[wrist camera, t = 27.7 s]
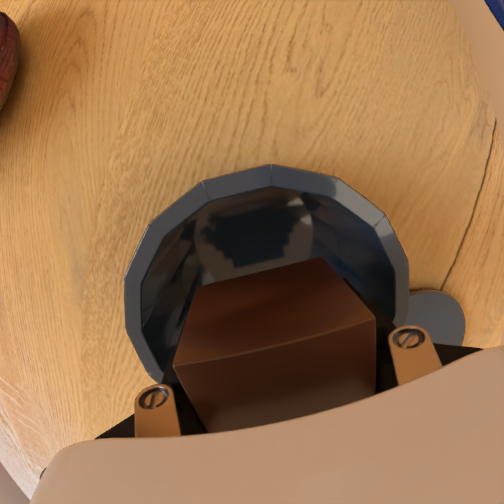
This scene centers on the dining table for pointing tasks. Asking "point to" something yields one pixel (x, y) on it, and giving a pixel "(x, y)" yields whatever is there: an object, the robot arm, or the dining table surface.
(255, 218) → the canister
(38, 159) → the dining table surface
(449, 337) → the lid
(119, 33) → the dining table surface
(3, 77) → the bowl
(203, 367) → the block
